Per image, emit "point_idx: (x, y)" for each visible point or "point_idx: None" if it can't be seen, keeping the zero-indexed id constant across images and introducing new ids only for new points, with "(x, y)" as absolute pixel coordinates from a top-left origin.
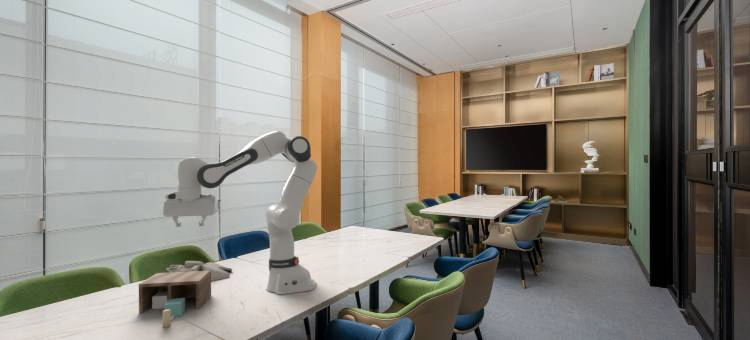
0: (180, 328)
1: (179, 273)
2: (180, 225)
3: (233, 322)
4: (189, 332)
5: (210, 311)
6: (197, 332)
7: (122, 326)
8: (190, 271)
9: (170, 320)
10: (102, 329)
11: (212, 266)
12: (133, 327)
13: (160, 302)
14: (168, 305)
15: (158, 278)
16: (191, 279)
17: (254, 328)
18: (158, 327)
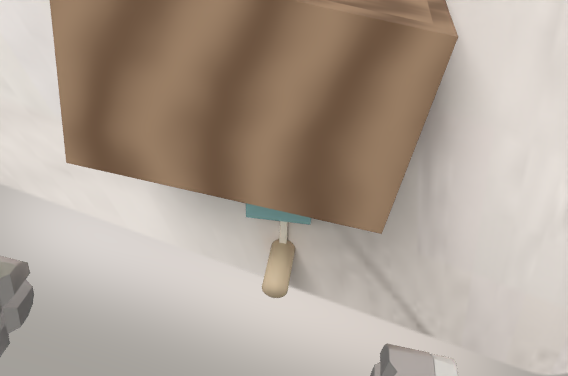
0: (331, 276)
1: (228, 29)
2: (20, 285)
3: (499, 302)
4: (362, 307)
5: (427, 190)
6: (385, 315)
7: (132, 192)
8: (299, 4)
9: (292, 261)
10: (77, 190)
11: None
12: (174, 214)
13: None
14: (261, 215)
15: (126, 96)
16: (336, 195)
17: (552, 356)
18: (258, 244)
